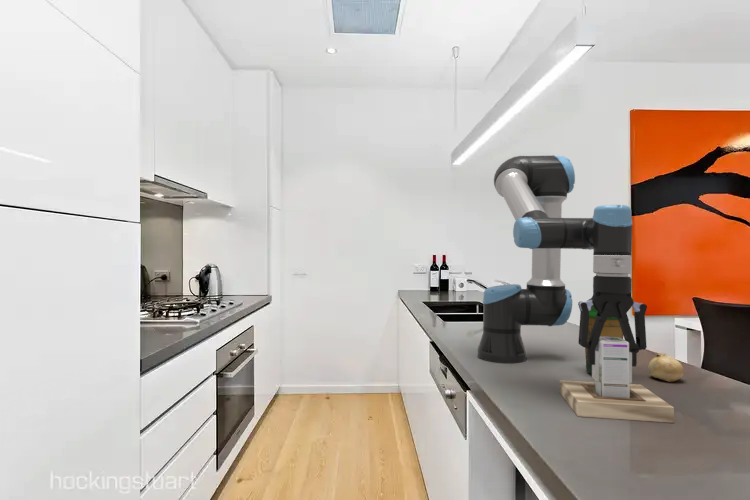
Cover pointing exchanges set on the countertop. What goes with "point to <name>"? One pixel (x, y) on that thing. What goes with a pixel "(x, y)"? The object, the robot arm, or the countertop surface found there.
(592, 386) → the beige flat square frame
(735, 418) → the countertop surface
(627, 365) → the syrup box
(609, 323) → the bottle
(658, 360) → the onion
